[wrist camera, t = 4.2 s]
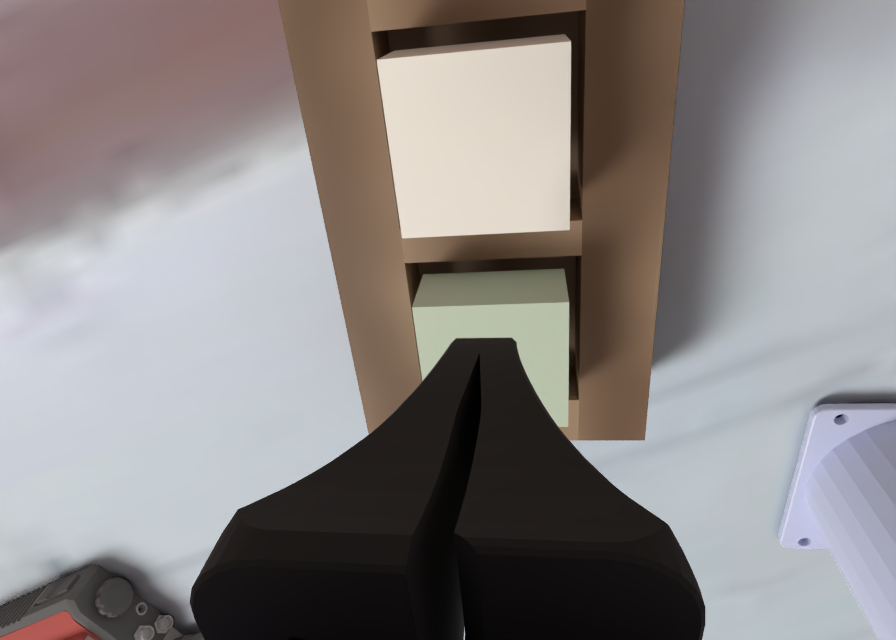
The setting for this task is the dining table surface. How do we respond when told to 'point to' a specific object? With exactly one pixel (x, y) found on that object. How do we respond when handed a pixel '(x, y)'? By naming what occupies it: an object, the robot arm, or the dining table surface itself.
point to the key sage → (501, 323)
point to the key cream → (480, 136)
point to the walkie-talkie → (86, 612)
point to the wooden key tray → (576, 250)
